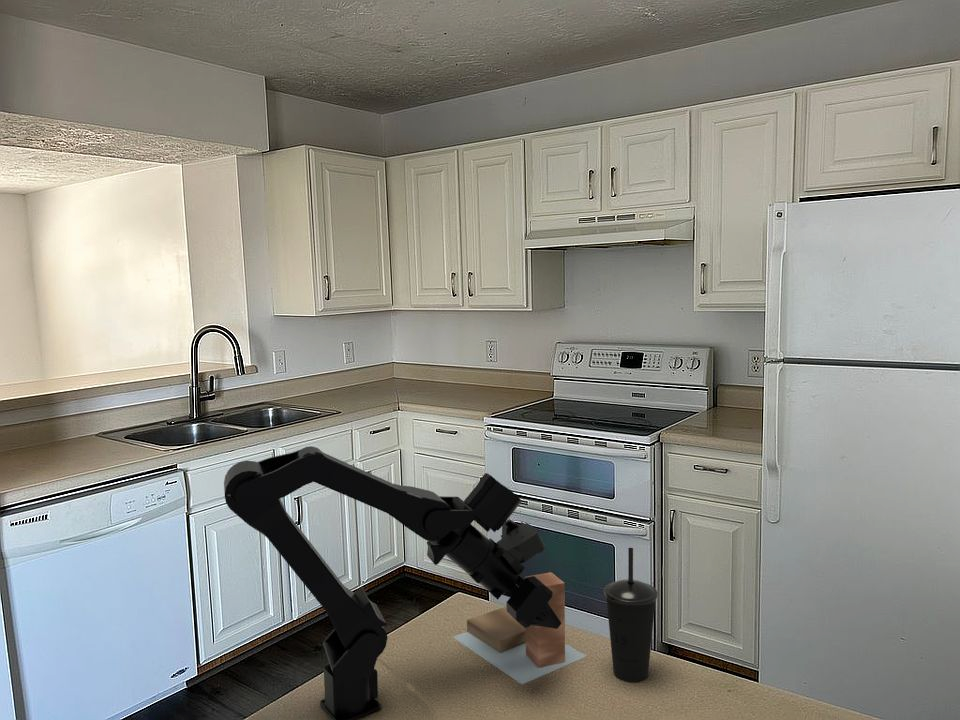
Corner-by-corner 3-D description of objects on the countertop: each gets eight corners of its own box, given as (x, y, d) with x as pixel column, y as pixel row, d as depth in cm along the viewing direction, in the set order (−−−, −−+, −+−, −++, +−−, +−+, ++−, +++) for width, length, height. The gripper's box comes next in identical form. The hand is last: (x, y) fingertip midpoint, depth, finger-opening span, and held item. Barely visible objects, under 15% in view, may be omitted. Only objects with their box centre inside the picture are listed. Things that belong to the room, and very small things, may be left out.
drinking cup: (612, 661, 111) (612, 536, 109) (662, 672, 108) (663, 543, 106) (597, 686, 105) (597, 553, 103) (650, 699, 101) (651, 561, 99)
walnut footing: (500, 652, 113) (500, 640, 113) (467, 631, 120) (466, 620, 120) (543, 635, 118) (543, 624, 118) (509, 616, 125) (509, 605, 125)
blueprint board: (522, 690, 104) (522, 684, 104) (452, 642, 118) (452, 636, 118) (587, 662, 111) (587, 655, 111) (514, 620, 126) (513, 614, 126)
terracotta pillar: (538, 668, 108) (537, 587, 107) (525, 654, 112) (524, 576, 111) (565, 662, 110) (564, 582, 108) (551, 648, 114) (551, 572, 113)
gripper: (538, 530, 98) (609, 594, 103) (487, 494, 115) (550, 550, 120) (486, 596, 96) (561, 658, 101) (442, 550, 113) (508, 604, 118)
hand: (545, 612), depth 110 cm, fingers open, 9 cm apart
